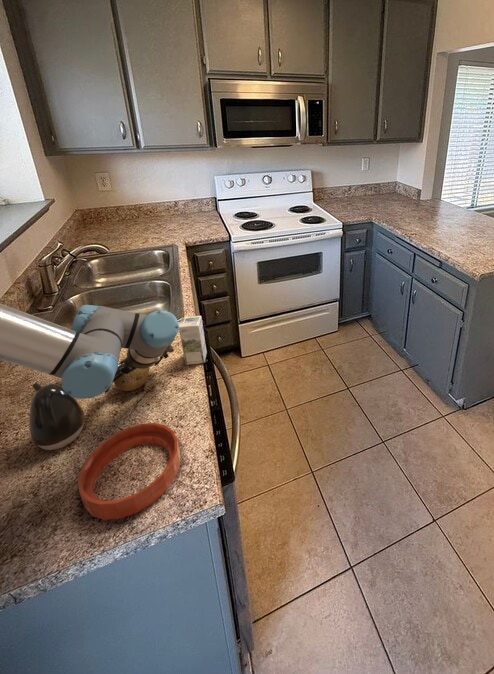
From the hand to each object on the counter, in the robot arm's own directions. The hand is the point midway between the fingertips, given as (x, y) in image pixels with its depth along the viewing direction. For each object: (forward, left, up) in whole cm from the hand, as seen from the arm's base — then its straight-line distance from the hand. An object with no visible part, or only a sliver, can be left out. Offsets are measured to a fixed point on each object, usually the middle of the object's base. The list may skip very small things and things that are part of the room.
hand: (130, 373), depth 99 cm
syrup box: (+17, +5, -5) cm, 18 cm away
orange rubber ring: (+3, -30, -4) cm, 30 cm away
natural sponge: (+1, -1, -4) cm, 5 cm away
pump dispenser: (-14, -13, -5) cm, 19 cm away
